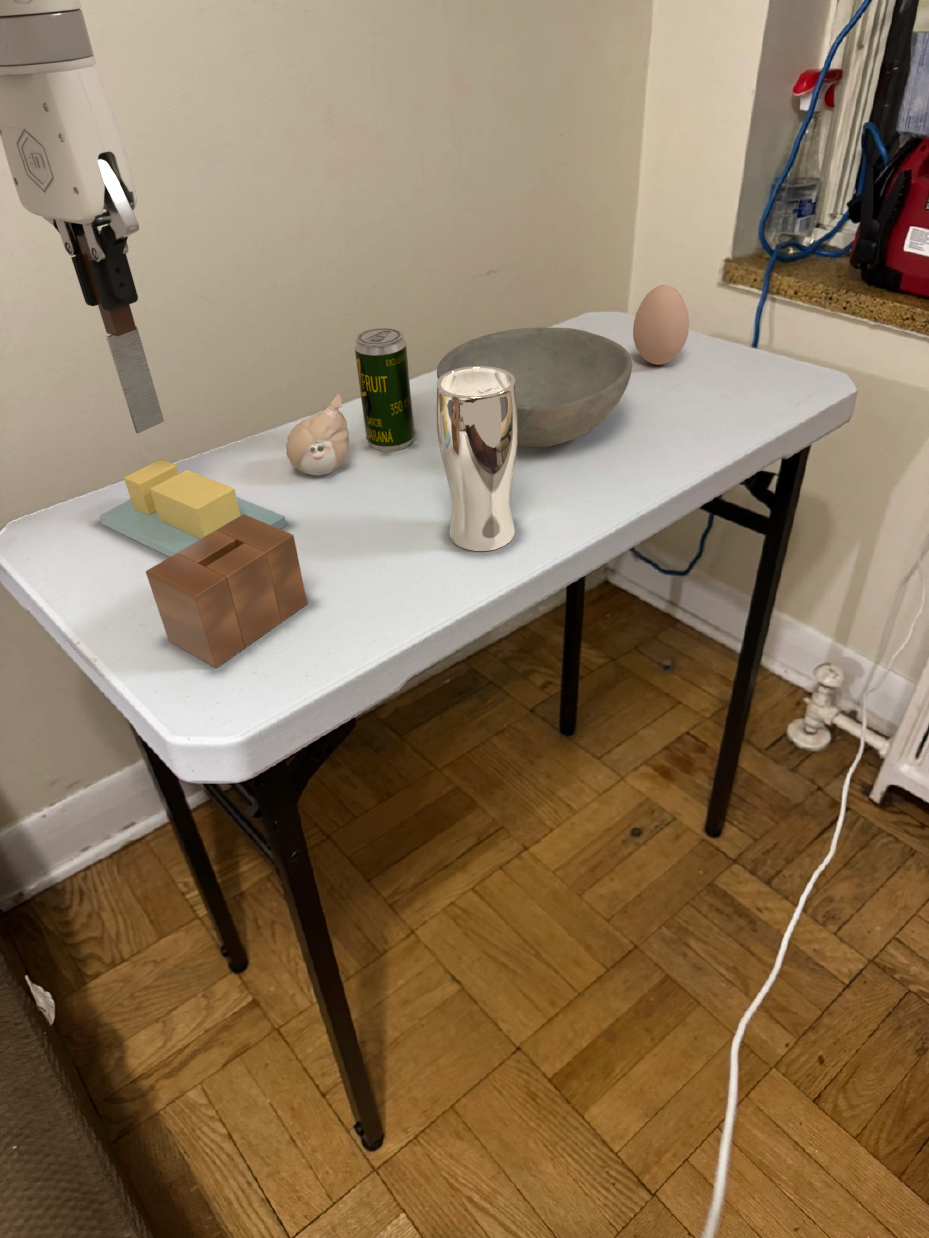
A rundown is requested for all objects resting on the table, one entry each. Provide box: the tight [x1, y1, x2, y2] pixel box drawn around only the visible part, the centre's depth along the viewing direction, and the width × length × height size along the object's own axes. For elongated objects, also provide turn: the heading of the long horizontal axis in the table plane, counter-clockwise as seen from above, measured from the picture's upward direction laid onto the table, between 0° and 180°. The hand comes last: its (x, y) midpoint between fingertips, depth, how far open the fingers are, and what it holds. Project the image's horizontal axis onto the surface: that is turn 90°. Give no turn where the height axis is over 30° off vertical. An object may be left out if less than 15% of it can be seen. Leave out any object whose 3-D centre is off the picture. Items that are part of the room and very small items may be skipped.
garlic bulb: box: [285, 393, 350, 476], centre depth 90 cm, size 7×6×8 cm
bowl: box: [436, 327, 633, 448], centre depth 95 cm, size 21×21×8 cm
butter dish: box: [98, 496, 287, 558], centre depth 85 cm, size 10×16×1 cm, turn 53°
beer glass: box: [436, 366, 519, 552], centre depth 76 cm, size 7×7×15 cm
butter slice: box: [123, 458, 180, 515], centre depth 86 cm, size 4×2×4 cm, turn 143°
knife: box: [77, 229, 165, 434], centre depth 75 cm, size 3×2×17 cm, turn 143°
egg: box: [632, 284, 690, 366], centre depth 108 cm, size 7×7×10 cm
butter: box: [150, 469, 241, 539], centre depth 83 cm, size 4×7×4 cm, turn 53°
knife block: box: [145, 514, 308, 669], centre depth 70 cm, size 10×6×7 cm, turn 143°
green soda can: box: [354, 327, 415, 452], centre depth 93 cm, size 5×5×12 cm
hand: (112, 302), depth 73 cm, fingers closed on knife, 1 cm apart
